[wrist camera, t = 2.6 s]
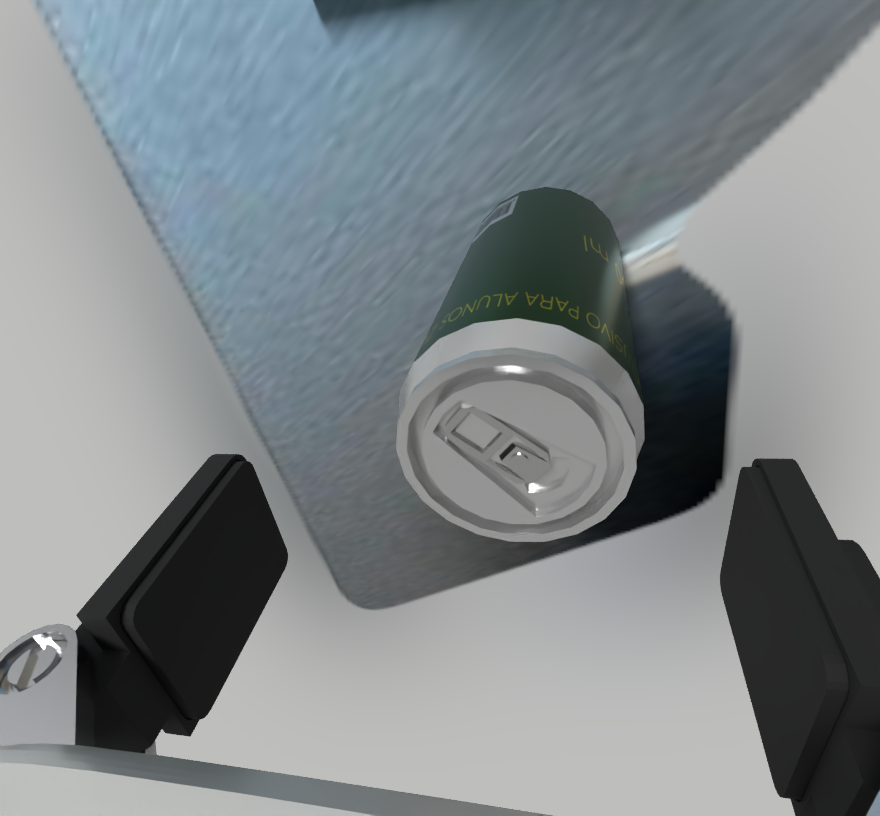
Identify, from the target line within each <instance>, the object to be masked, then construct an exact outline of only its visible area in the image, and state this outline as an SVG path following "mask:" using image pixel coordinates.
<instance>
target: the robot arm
mask: <svg viewBox="0 0 880 816" xmlns="http://www.w3.org/2000/svg"><path fill="white" fill-rule="evenodd" d="M287 560H288V553H287V549H286V546H285V544H284V541H283V539H282V536H281V534H280V531H279V529H278V526H277V524H276V521H275V519H274V517H273V514H272V511H271V509H270V507H269V504H268V502H267V499H266V497H265V495H264V492H263V489H262V487H261V484H260V482H259V479H258V477H257V475H256V472H255V470H254V467H253V465H252V464H251V463H250V462H248V461H246V459H245V458H244V457H243V456H242V455H239V454H238V455H237V454H215V455H212V456H211V457H209V458H208V459H207V461H206V462H205V463H204V464H203V465H202V467H201V468H200V469H199V470H198V471H197V472H196V474H195V475H194V476H193V477H192V478H191V480H190V481H189V482H188V483H187V484H186V486H185V487H184V488H183V489H182V490H181V492H180V493H179V494H178V495H177V496H176V497H175V499H174V500H173V501H172V502H171V503H170V505H169V506H168V507H167V508H166V509H165V510H164V512H163V513H162V514H161V515H160V517H159V518H158V519H157V520H156V521H155V522H154V524H153V525H152V526H151V527H150V528H149V529H148V531H147V532H146V533H145V534H144V535H143V537H142V538H141V539H140V540H139V541H138V542H137V544H136V545H135V546H134V547H133V548H132V550H131V551H130V552H129V553H128V555H127V556H126V557H125V558H124V559H123V560H122V561H121V563H120V564H119V565H118V566H117V567H116V569H115V570H114V571H113V572H112V573H111V575H110V576H109V577H108V578H107V579H106V581H105V582H104V583H103V584H102V585H101V586H100V588H99V589H98V590H97V591H96V592H95V594H94V595H93V596H92V597H91V598H90V599H89V601H88V602H87V603H86V604H85V605H84V607H83V608H82V609H81V610H80V611H79V613H78V614H77V617H78V618H79V620H80V621H81V622H82V624H81V625H80V626H79V627H78V629H77V630H76V631H75V630H73V629H72V628H71V627H70V626H67V625H62V624H55V625H47V626H45V627H42V628H39V629H36V630H33V631H31V632H30V633H28V634H26V635H24V636H22V637H20V638H19V639H18V640H16V641H15V642H13V643H12V644H11V645H9V646H8V647H7V648H5V649H4V650H3V651H2V652H1V653H0V816H551V815H544V814H538V813H532V812H526V811H520V810H513V809H507V808H501V807H494V806H488V805H482V804H475V803H469V802H462V801H457V800H450V799H444V798H437V797H431V796H424V795H418V794H411V793H404V792H398V791H392V790H385V789H379V788H372V787H366V786H359V785H352V784H346V783H340V782H333V781H326V780H320V779H313V778H307V777H300V776H294V775H287V774H281V773H274V772H267V771H261V770H253V769H247V768H240V767H233V766H227V765H219V764H213V763H206V762H200V761H193V760H186V759H179V758H173V757H165V756H159V755H157V754H156V745H155V739H156V738H157V736H158V734H159V732H160V730H161V729H163V730H164V732H165V733H169V734H176V735H184V736H191V734H192V732H193V730H194V729H195V727H196V725H197V723H198V721H199V719H203V718H204V717H205V716H206V715H207V714H208V713H209V711H210V710H211V708H212V706H213V704H214V702H215V701H216V699H217V697H218V695H219V693H220V691H221V689H222V687H223V685H224V683H225V682H226V680H227V678H228V676H229V674H230V672H231V670H232V668H233V666H234V665H235V663H236V661H237V659H238V657H239V655H240V653H241V651H242V649H243V647H244V645H245V643H246V642H247V640H248V638H249V636H250V634H251V632H252V630H253V628H254V627H255V625H256V623H257V621H258V619H259V617H260V615H261V613H262V611H263V609H264V608H265V605H266V604H267V602H268V600H269V598H270V596H271V594H272V592H273V590H274V589H275V587H276V585H277V583H278V581H279V579H280V577H281V575H282V573H283V571H284V570H285V567H286V564H287ZM720 585H721V592H722V596H723V600H724V604H725V607H726V611H727V614H728V618H729V622H730V625H731V629H732V633H733V636H734V640H735V643H736V647H737V651H738V655H739V658H740V662H741V666H742V669H743V673H744V677H745V680H746V684H747V688H748V691H749V695H750V699H751V702H752V705H753V710H754V713H755V717H756V720H757V724H758V728H759V731H760V735H761V739H762V743H763V746H764V749H765V754H766V757H767V761H768V764H769V768H770V772H771V775H772V779H773V782H774V786H775V789H776V790H777V793H778V794H779V796H780V797H783V798H790V799H791V802H792V805H793V809H794V812H795V815H796V816H880V579H879V577H878V575H877V573H876V571H875V570H874V568H873V566H872V564H871V563H870V561H869V559H868V557H867V556H866V554H865V552H864V551H863V549H862V548H861V547H860V545H859V544H857V543H856V542H854V541H853V540H838V539H837V537H836V535H835V533H834V531H833V529H832V527H831V525H830V523H829V522H828V520H827V518H826V516H825V514H824V512H823V510H822V508H821V507H820V505H819V503H818V501H817V499H816V498H815V495H814V493H813V492H812V490H811V488H810V486H809V484H808V482H807V480H806V479H805V476H804V475H803V473H802V471H801V469H800V467H799V465H798V464H797V462H796V461H795V460H793V459H755V460H754V461H753V463H752V467H742V468H741V470H740V474H739V479H738V484H737V489H736V494H735V500H734V505H733V510H732V516H731V520H730V525H729V531H728V536H727V541H726V546H725V552H724V557H723V562H722V567H721V574H720Z"/></svg>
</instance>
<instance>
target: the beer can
mask: <svg viewBox="0 0 880 816" xmlns="http://www.w3.org/2000/svg"><path fill="white" fill-rule="evenodd" d="M644 439H645V436H644V407H643V400H642V393H641V387H640V380H639V373H638V367H637V360H636V354H635V347H634V340H633V334H632V327H631V321H630V314H629V308H628V301H627V294H626V288H625V281H624V275H623V268H622V261H621V255H620V248H619V242H618V239H617V237H616V234H615V232H614V230H613V227H612V225H611V223H610V220H609V219H608V218H607V217H606V216H605V215H604V213H603V212H602V211H601V210H600V209H599V208H598V207H597V206H596V205H595V204H594V203H593V202H592V201H590V200H588V199H586V198H584V197H582V196H580V195H578V194H576V193H574V192H573V191H570V190H563V189H556V188H549V187H544V188H538V189H533V190H527V191H522V192H520V193H518V194H516V195H514V196H512V197H510V198H509V199H507V200H505V201H503V202H501V203H499V205H498V206H497V207H496V208H495V209H494V210H493V211H492V212H491V213H490V214H489V215H488V216H487V217H486V218H485V219H484V220H483V222H482V224H481V226H480V228H479V230H478V232H477V234H476V236H475V238H474V240H473V243H472V245H471V247H470V249H469V251H468V253H467V255H466V257H465V259H464V261H463V263H462V265H461V267H460V269H459V271H458V273H457V275H456V277H455V279H454V281H453V283H452V285H451V287H450V290H449V292H448V294H447V296H446V298H445V300H444V302H443V304H442V306H441V308H440V310H439V312H438V314H437V316H436V318H435V320H434V322H433V324H432V326H431V328H430V330H429V332H428V335H427V337H426V339H425V341H424V343H423V345H422V347H421V349H420V351H419V353H418V355H417V357H416V359H415V361H414V363H413V365H412V367H411V369H410V372H409V374H408V376H407V378H406V380H405V382H404V384H403V386H402V389H401V391H400V401H399V420H398V426H397V445H396V451H397V454H398V457H399V460H400V463H401V466H402V469H403V472H404V475H405V477H406V479H407V480H408V481H409V483H410V484H411V485H412V487H413V488H414V490H415V491H416V492H417V494H418V495H419V496H420V498H421V499H422V500H423V501H424V502H425V503H426V504H427V505H429V506H430V507H431V508H432V509H434V510H435V511H436V512H438V513H439V514H440V515H441V516H443V517H444V518H445V519H446V520H448V521H450V522H452V523H454V524H456V525H458V526H461V527H463V528H465V529H467V530H469V531H471V532H474V533H476V534H478V535H483V536H487V537H492V538H496V539H501V540H505V541H510V542H546V541H550V540H554V539H559V538H563V537H567V536H571V535H576V534H578V533H580V532H582V531H584V530H586V529H587V528H589V527H591V526H593V525H595V524H597V523H599V522H601V521H602V520H604V519H605V518H606V517H607V516H608V515H609V514H610V513H611V512H612V511H613V510H614V509H615V508H616V507H617V506H618V505H619V504H620V503H621V502H622V501H623V499H624V498H625V497H626V495H627V493H628V490H629V487H630V485H631V482H632V480H633V477H634V475H635V472H636V470H637V466H636V460H637V457H638V455H639V452H640V450H641V447H642V444H643V442H644Z"/></svg>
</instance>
